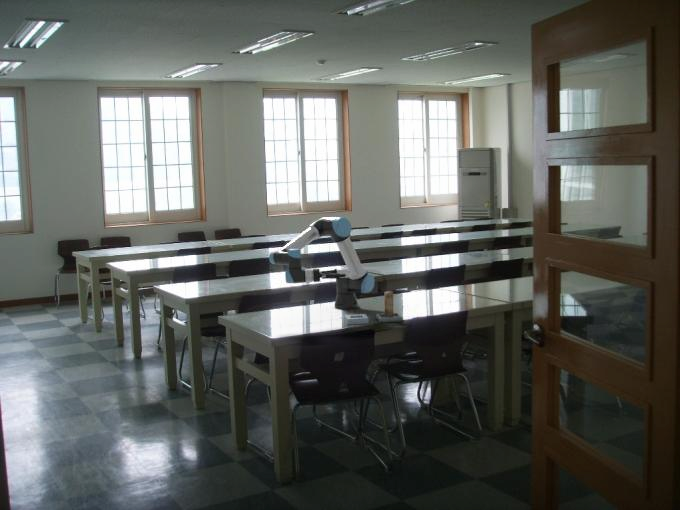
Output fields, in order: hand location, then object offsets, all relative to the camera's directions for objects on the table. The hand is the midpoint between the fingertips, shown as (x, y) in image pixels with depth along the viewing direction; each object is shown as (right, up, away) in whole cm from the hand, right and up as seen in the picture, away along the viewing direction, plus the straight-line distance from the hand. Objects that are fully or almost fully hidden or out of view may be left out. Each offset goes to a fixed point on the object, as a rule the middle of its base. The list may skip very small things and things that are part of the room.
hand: (349, 273), depth 428 cm
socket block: (+4, -28, +1) cm, 28 cm away
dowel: (+23, -26, +3) cm, 35 cm away
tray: (+23, -27, +3) cm, 35 cm away
